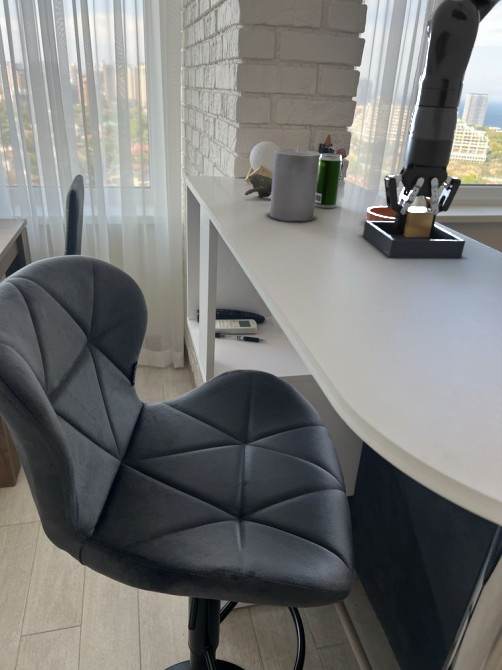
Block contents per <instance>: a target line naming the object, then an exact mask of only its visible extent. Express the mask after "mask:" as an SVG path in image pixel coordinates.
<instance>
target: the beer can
mask: <svg viewBox="0 0 502 670" xmlns="http://www.w3.org/2000/svg"><path fill="white" fill-rule="evenodd" d="M342 160H343V159H342V155H341V154H338V153H325V152H324V153H323V152H322V153H320V159H319V168H318V177H317V187H316V197H315V207H317V208H320V209H335V207H336V206H337V202H338V201H337V200H338V193H339V187H340V179H341V178H340V176H341V169H342V168H341V167H342Z"/></svg>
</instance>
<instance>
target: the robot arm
mask: <svg viewBox="0 0 502 670" xmlns="http://www.w3.org/2000/svg"><path fill="white" fill-rule="evenodd" d="M501 1H502V0H441V2H439V4H438V5H437V6H436V7H435V8H434V9H433V11H432V12H431V14H430V15H429V17H428V20H427V24H426V36H427V39H428V44H427V51H426V58H425V63H424V67H423V70H422V71H421V74H420V76H419V81H418V86H417V92H416V97H415V103H414V108H413V111H412V114H411V118H410V123H409V128H408V132H407V134H408V136H407V139H406V140H407V142H406V146H405V152H404V158H403V166H402V169H401V170H400V172H399V173H398V174H394V175H389V174H386V175H385V176H384V178H383V181H384V191H385V200H386V206H387V207H388V208H390V209H392V210H393V211H395V212H396V216H395V222H394V230H396V233H398V234H399V235H403V234H404V229H405V224H406V218H407V215H406V213H407V211H408V209H409V207H411V205H412V204H413V203H414V202H415V200H416V197H417V198H419V197H422V196H423V199H424V201H425V206H426V207H425V208H426V209H428V210H430V211H432V212H434V215H433V220H432V225H431V230H430V232H432V231H433V229H434V224H436V220H437V219H436V218H437V215H438V214H440V213H442V212H444V213H445V212H447V211H449V209H450V207H451V205H452V203H453V201H454V198H455V197H456V194H457V192H458V190H459V188H460V186H461V184H462V180H461V179H460V178H458V177H455V176H450V175H449V174H448V165H449V164H450V159H451V155H452V150H453V146H454V145H453V144H454V140H455V135H456V131H457V125H458V119H459V118H458V117H459V116H458V115H459V109H460V108H459V107H460V104H461V98H462V93H463V88H464V83H465V82H464V81H465V76H466V72H467V69H468V65H469V63H470V60H471V56H472V53H473V50H474V48H475V44H476V41H477V38H478V37H477V36H478V32H479V28H480V23H481V22H482V21H483V20H484V19H485V18H486V17H487V16H488V14H489V13H490V12H491V11H492V10H493V9H494V8H495V6H497V4H499V3H500V2H501ZM400 182H401V183H402V185H403V188H402V191H401V192H400V195H399V197H398V189H397V188H399V187H400ZM442 185H443V187H444V188H443V190H442V192H441V194H440V196H439V189H440V188H441V186H442ZM398 198H399V199H398Z"/></svg>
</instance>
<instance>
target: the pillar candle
mask: <svg viewBox="0 0 502 670" xmlns="http://www.w3.org/2000/svg"><path fill="white" fill-rule="evenodd" d="M299 146H300V145H299V144H298V145H297V146H296V147H297V148H278V149H274V151H273V153H274V154H273V165H272V177H271V178H272V191H271V195H270V207H269V216H270V217H271V218H273V219H274V220H279V221H284V222H310V221H312V220H313V219H314V214H315V207H316V206H315V197H316V187H317V177H318V168H319V159H320V154H321V152H319V151H314V150H307V149H301V148H300V149H299Z"/></svg>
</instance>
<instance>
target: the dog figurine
mask: <svg viewBox="0 0 502 670" xmlns="http://www.w3.org/2000/svg"><path fill="white" fill-rule="evenodd" d="M247 178H248V180H249V183H250V184H252V188H250V189H248V190H246V191H245V192H244V195H245V196H248V195H252V194H253V193H257V198H269V197H271V191H272V177H270V176H268V175H263V174H261V173H252V174H250V175H248V177H247Z"/></svg>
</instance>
